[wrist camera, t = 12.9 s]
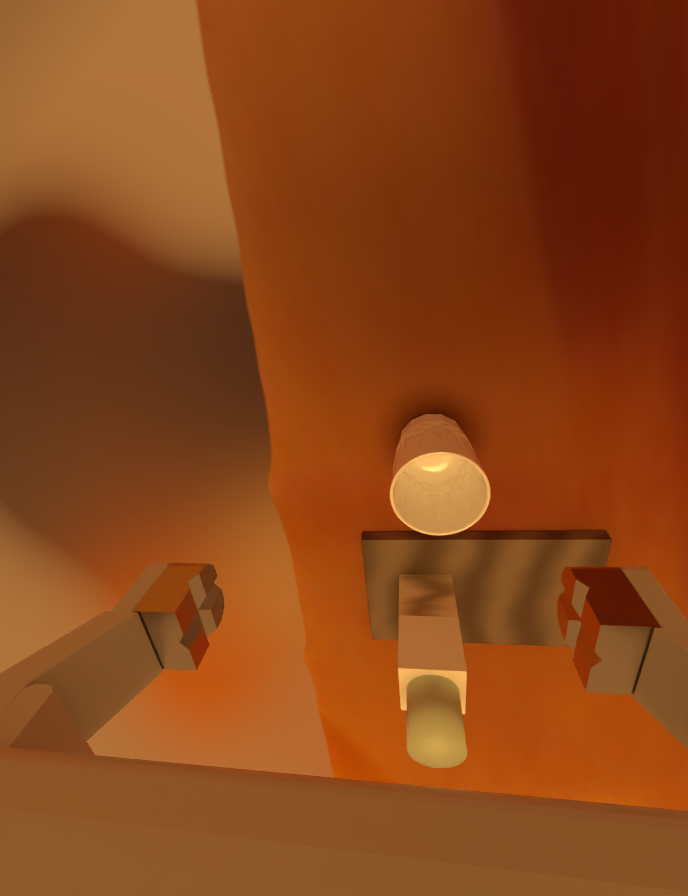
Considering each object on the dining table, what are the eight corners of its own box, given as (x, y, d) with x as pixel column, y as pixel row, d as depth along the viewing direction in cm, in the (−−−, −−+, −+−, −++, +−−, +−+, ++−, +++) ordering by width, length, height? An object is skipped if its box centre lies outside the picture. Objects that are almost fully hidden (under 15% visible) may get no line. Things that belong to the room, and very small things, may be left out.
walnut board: (605, 530, 43) (611, 539, 42) (583, 636, 50) (588, 647, 49) (362, 531, 47) (361, 539, 46) (372, 629, 54) (372, 639, 53)
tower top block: (458, 617, 41) (466, 671, 36) (457, 657, 44) (465, 714, 38) (398, 615, 42) (398, 668, 37) (401, 654, 45) (401, 709, 39)
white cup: (454, 394, 39) (469, 436, 30) (482, 461, 42) (504, 518, 33) (379, 425, 41) (373, 473, 33) (411, 487, 44) (413, 546, 35)
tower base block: (451, 575, 47) (458, 617, 41) (451, 613, 49) (457, 657, 44) (399, 574, 48) (398, 615, 42) (401, 611, 50) (401, 654, 45)
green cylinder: (459, 675, 36) (467, 735, 32) (459, 709, 38) (466, 770, 34) (405, 673, 37) (405, 730, 33) (407, 706, 39) (408, 765, 35)
